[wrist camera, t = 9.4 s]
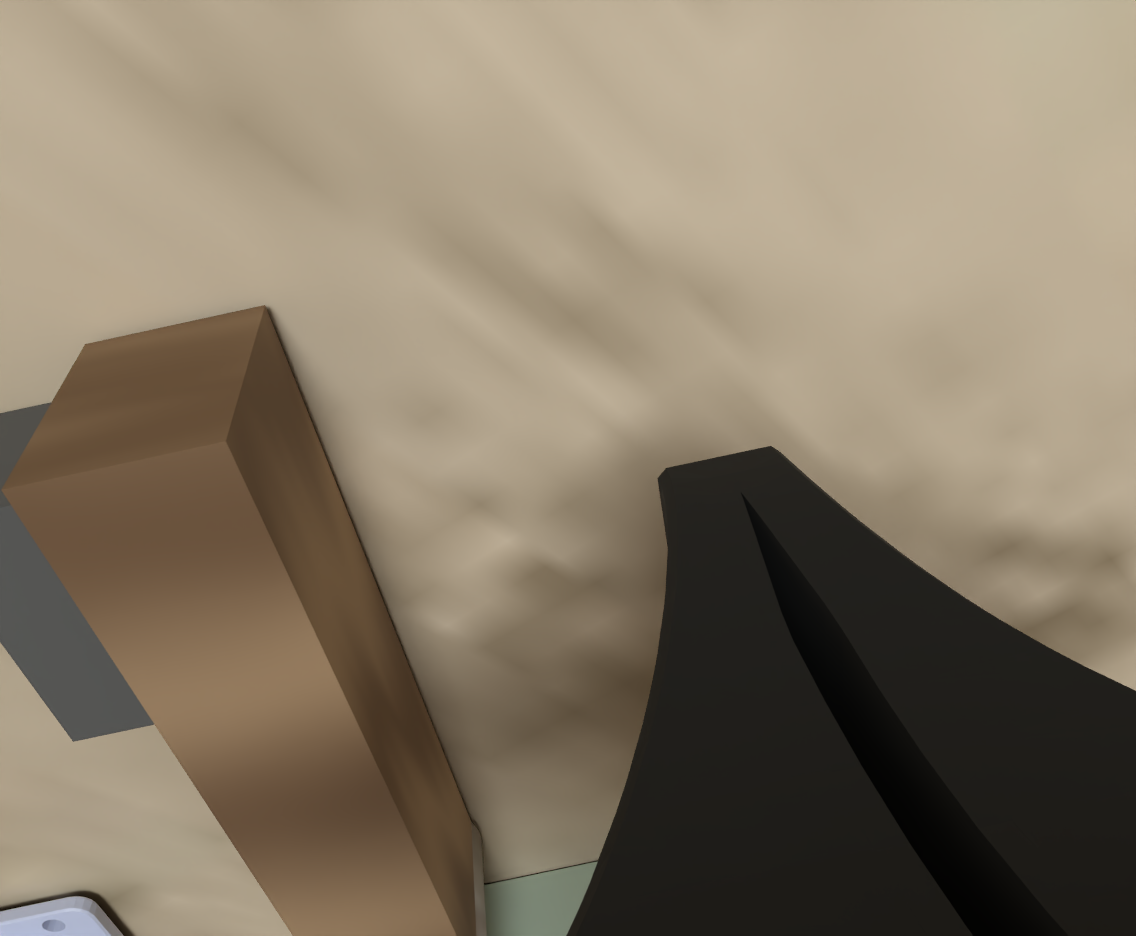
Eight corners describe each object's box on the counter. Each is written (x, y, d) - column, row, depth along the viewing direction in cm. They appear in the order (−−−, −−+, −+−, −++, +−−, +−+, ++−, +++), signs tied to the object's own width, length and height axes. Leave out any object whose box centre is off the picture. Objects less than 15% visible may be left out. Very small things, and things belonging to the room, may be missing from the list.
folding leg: (493, 869, 26) (505, 1037, 23) (374, 895, 26) (366, 1066, 23) (270, 303, 16) (231, 448, 13) (78, 345, 16) (-12, 500, 13)
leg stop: (115, 622, 20) (72, 741, 17) (-12, 416, 17) (-86, 525, 15) (213, 601, 20) (184, 718, 17) (102, 391, 17) (48, 497, 15)
